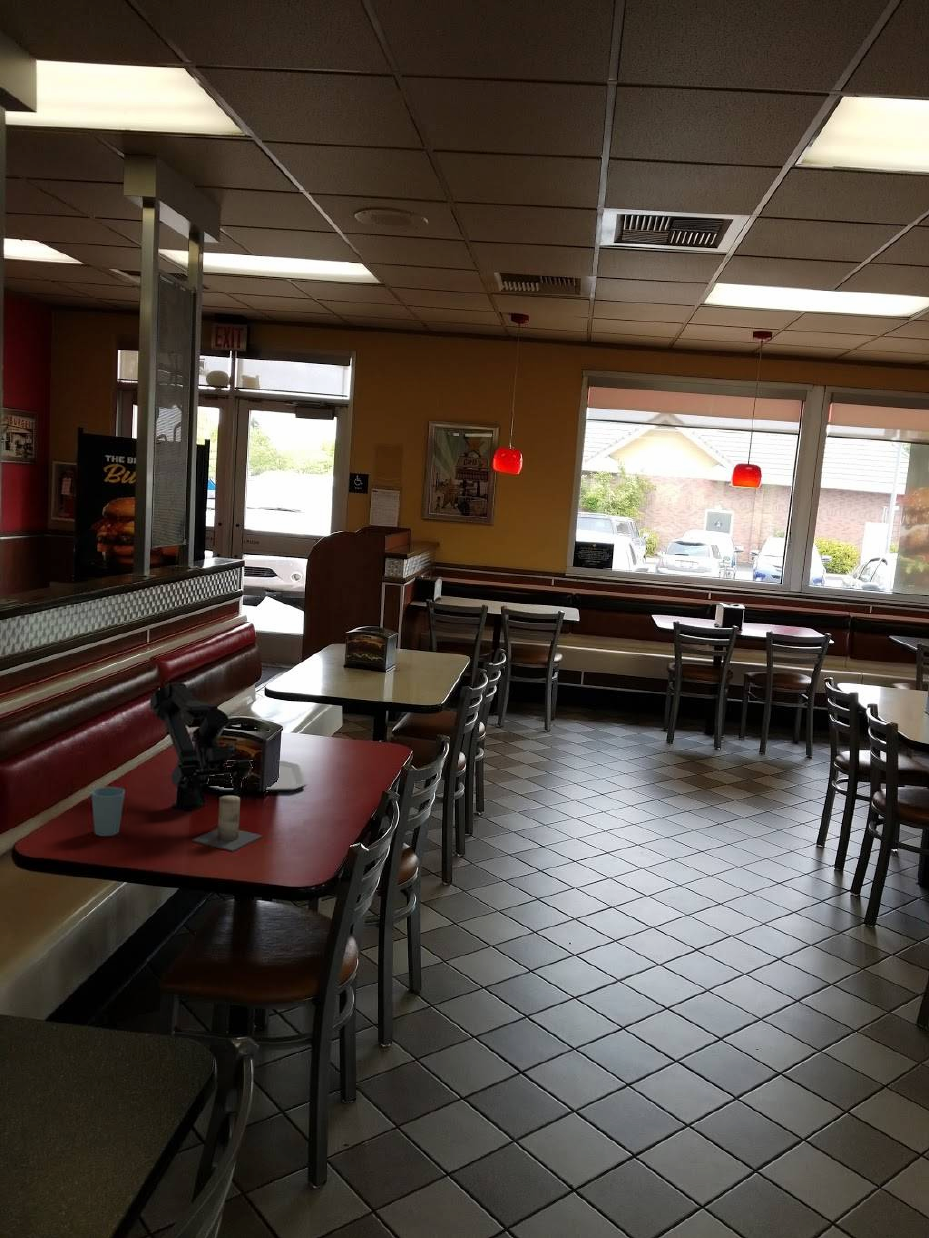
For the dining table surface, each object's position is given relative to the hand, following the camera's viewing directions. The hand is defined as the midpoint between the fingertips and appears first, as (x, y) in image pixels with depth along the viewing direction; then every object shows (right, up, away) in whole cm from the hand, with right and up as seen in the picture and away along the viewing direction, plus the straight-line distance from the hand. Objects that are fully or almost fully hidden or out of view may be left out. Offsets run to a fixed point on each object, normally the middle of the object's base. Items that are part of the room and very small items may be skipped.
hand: (221, 802), depth 239 cm
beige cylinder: (+2, -8, -3) cm, 9 cm away
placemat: (+2, -9, -3) cm, 9 cm away
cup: (-27, -7, -5) cm, 28 cm away
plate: (-2, -3, +46) cm, 46 cm away
